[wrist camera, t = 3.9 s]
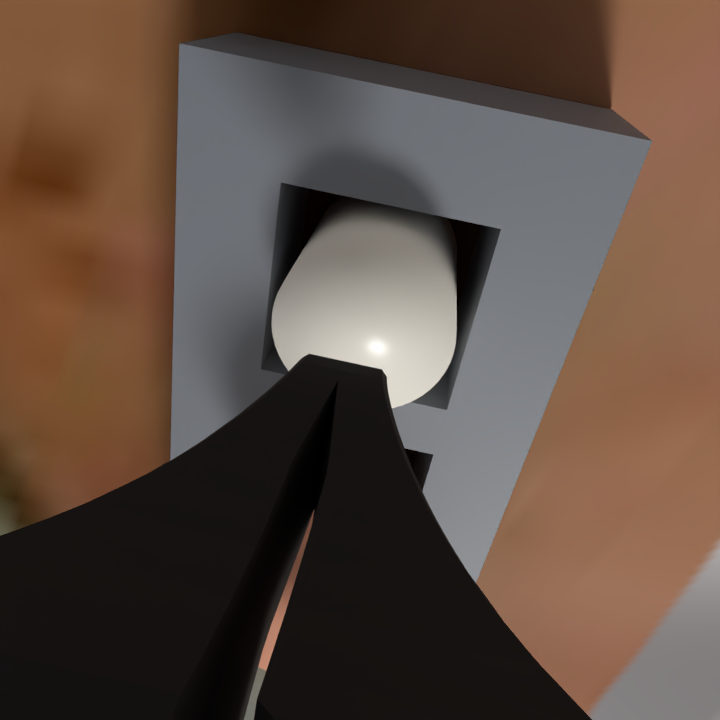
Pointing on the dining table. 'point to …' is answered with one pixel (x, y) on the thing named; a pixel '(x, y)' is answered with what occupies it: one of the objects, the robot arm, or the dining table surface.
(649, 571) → the dining table surface
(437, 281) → the plug cream
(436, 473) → the socket board
